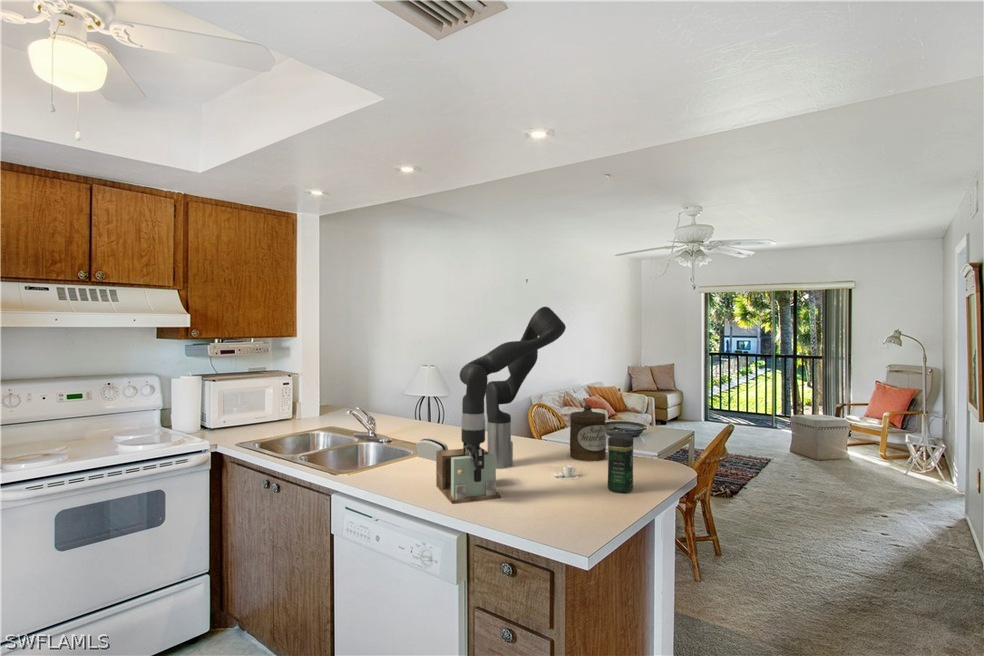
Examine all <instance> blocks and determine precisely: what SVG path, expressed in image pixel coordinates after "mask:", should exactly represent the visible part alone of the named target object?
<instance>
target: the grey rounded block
mask: <svg viewBox="0 0 984 656" xmlns="http://www.w3.org/2000/svg"><path fill="white" fill-rule="evenodd" d="M415 447H416V451H417V452H416V453H417V456H418V458H422V459H425V460H429V461H433V462H436V451H441V450H449V447H448V445H447V443H445V442H443V441H442V440H440V439H437V438H435V437H434V438H433V437H424V438H422V439H420V440H418V441H417V442H416V443H415Z"/></svg>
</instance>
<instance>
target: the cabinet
mask: <svg viewBox="0 0 984 656" xmlns="http://www.w3.org/2000/svg"><path fill="white" fill-rule="evenodd" d="M480 448H481V449H484V448H482V447H481V446H480ZM484 454H488V452H487V449H484ZM461 456H463V448H456V449H448V450H441V451H436V461H435V462H436V463H435V465H436V469H435V473H436V474H435V475H436V477H435V478H436V485H435V486H436V487H437V489H438V490H439V491H440V492H441V493H442V494H443V495H444V496H445V497H446V499H447V500H448V501H449V502H450V503H451V504H461V503H469V502H470V503H471V502H476V501H477V502H478V501H487V500H495V499H501V498H502V497H501V494H500V493H499V492H498V491H497V481H496V482H495V481H494V482H486V495H477V496H468V497H466V485H457V486H456V498H453V497H452V496H451V457H461Z"/></svg>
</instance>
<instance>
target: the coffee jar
mask: <svg viewBox="0 0 984 656" xmlns="http://www.w3.org/2000/svg"><path fill="white" fill-rule="evenodd" d="M607 453H608V454H607V455H608V457H607V459H608V461H607V489H608V490H609V491H612V492H614V493H618V494H619V493H629V492H631V491H632V490H633V488H634V437H633V436H632V435H631V434H630V433H627V432H626V433H625V432H617V433H615V434H612V435H611V436H609V437H608V439H607Z"/></svg>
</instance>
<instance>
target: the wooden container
mask: <svg viewBox="0 0 984 656" xmlns="http://www.w3.org/2000/svg"><path fill="white" fill-rule="evenodd" d="M592 408H593V407H592V405H590V404H585V405H584V406H583V410H582V411H574V412H571V413H570V414H569V415H570V416H569V419H570V420H569V421H570V423H569V425H570V426H569V429H570V430H569V431H570V433H569V457H570V458H572V459H573V460H577V461H583V462H599V461H603V460H605V459H606V458H607V455H606V454H607V453H606V452H607V450H606V447H607V439H606V438H607V437H606V414H605V413H603V412H597V411H593V410H592Z"/></svg>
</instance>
